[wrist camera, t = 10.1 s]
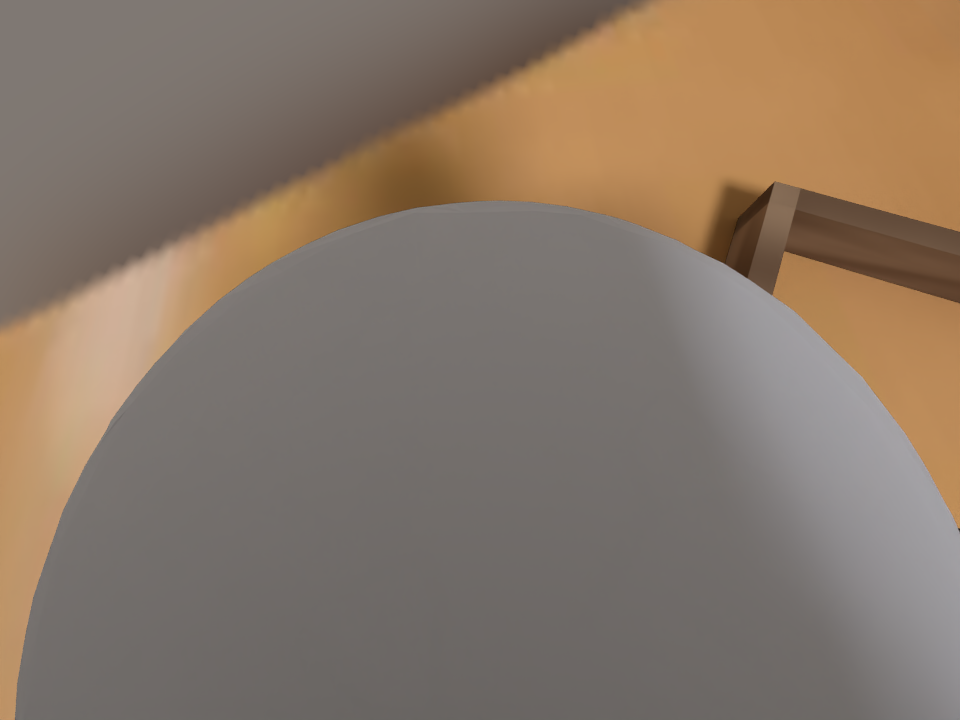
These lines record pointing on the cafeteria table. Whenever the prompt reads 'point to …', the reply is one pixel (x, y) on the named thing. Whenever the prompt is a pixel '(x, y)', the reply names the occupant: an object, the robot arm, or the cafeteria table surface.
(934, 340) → the cafeteria table surface
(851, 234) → the u-shaped wooden frame
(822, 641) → the supplement bottle
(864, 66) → the cafeteria table surface
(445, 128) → the cafeteria table surface
